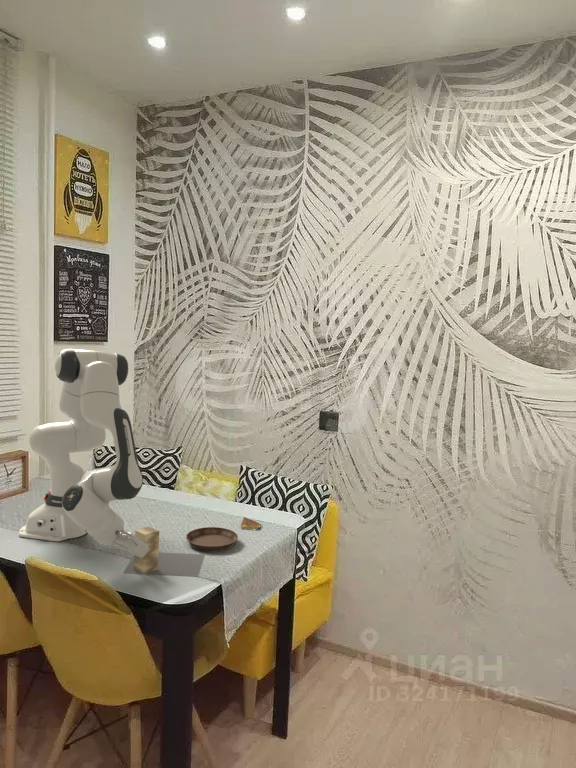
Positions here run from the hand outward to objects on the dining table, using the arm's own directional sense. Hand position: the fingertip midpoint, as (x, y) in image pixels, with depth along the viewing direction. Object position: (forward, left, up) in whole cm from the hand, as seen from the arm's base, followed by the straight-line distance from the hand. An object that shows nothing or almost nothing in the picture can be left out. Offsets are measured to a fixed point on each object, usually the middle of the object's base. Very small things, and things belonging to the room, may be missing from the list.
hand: (135, 552), depth 177 cm
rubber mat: (+8, +8, -7) cm, 13 cm away
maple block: (+3, +3, -6) cm, 7 cm away
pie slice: (+31, +49, -8) cm, 58 cm away
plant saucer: (+20, +29, -8) cm, 36 cm away
